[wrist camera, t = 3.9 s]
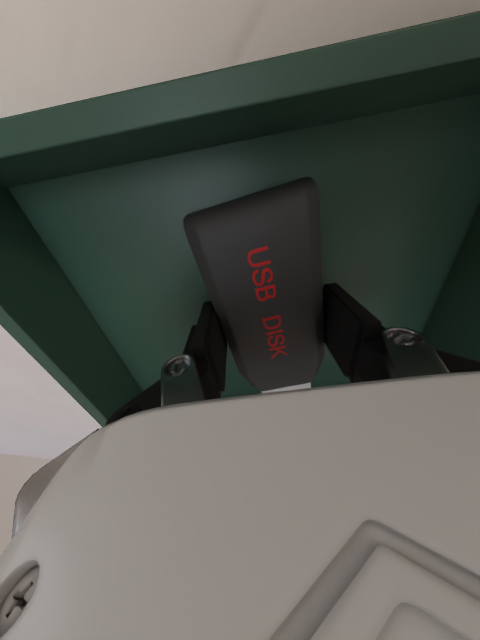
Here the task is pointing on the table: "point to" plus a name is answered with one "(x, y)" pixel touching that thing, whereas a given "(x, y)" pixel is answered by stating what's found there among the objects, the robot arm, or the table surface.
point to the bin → (237, 181)
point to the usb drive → (266, 281)
